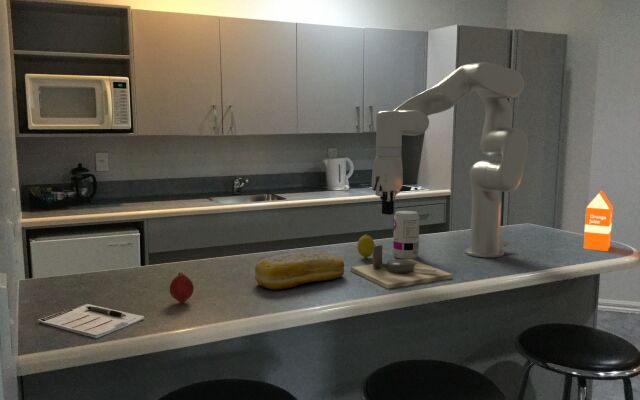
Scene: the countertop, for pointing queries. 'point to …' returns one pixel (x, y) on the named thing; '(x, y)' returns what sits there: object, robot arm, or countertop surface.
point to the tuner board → (400, 275)
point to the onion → (181, 288)
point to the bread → (297, 269)
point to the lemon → (365, 246)
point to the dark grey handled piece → (395, 263)
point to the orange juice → (598, 223)
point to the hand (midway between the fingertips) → (387, 213)
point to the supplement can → (406, 234)
